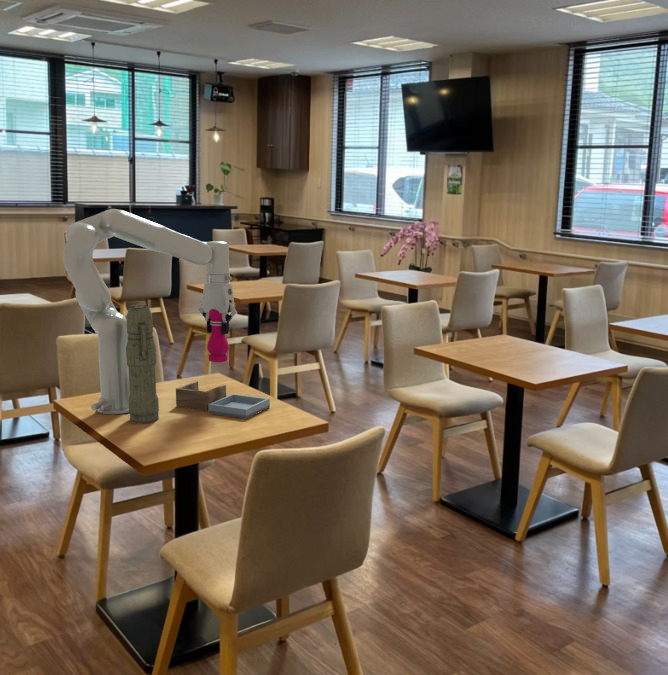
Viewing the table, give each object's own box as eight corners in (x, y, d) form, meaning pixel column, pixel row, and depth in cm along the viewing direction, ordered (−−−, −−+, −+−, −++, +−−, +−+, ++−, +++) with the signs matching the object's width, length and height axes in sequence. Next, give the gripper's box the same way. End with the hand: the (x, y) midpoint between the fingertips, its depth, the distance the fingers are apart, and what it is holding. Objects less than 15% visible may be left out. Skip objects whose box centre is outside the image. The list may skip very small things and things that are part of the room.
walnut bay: (207, 411, 255) (206, 392, 254) (176, 406, 261) (175, 388, 260) (226, 402, 265) (225, 385, 264) (196, 398, 270) (195, 381, 269)
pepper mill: (203, 361, 268) (202, 301, 265) (214, 357, 275) (214, 299, 271) (221, 363, 266) (221, 303, 262) (232, 359, 272) (232, 300, 269)
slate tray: (246, 418, 247) (246, 409, 246) (208, 413, 253) (208, 404, 252) (269, 407, 259) (269, 398, 259) (233, 402, 265) (232, 393, 265)
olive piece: (152, 412, 254) (147, 302, 247) (164, 422, 244) (159, 307, 237) (124, 416, 249) (118, 305, 243) (135, 426, 239) (130, 310, 233)
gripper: (245, 279, 265) (245, 333, 268) (202, 276, 272) (203, 329, 276) (233, 281, 258) (233, 337, 262) (189, 278, 266) (190, 332, 269)
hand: (217, 332), depth 269 cm, fingers closed on pepper mill, 5 cm apart
